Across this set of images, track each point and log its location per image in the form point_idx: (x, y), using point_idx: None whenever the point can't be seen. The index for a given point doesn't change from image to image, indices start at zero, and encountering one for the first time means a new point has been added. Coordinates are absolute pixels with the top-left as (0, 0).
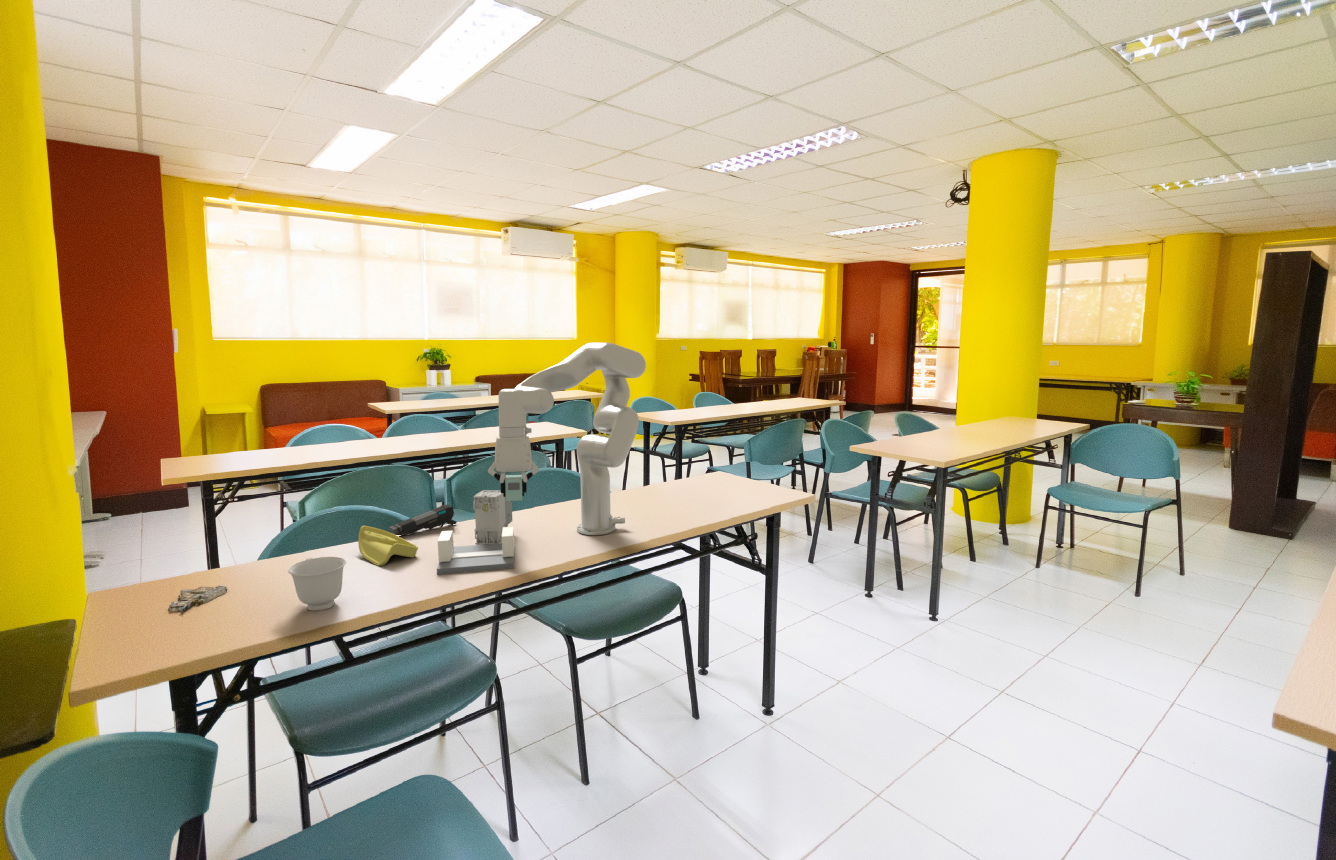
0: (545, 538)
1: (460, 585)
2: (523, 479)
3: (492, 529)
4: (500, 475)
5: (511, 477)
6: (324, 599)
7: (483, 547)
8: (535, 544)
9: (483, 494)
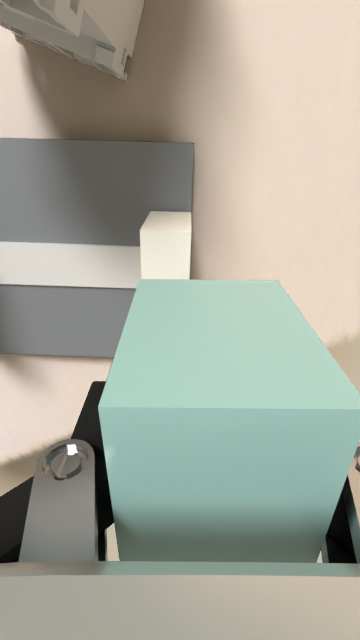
0: (347, 32)
1: (66, 416)
2: (327, 548)
3: (77, 41)
4: (28, 513)
5: (192, 530)
6: None
7: (70, 182)
8: (282, 127)
9: None
